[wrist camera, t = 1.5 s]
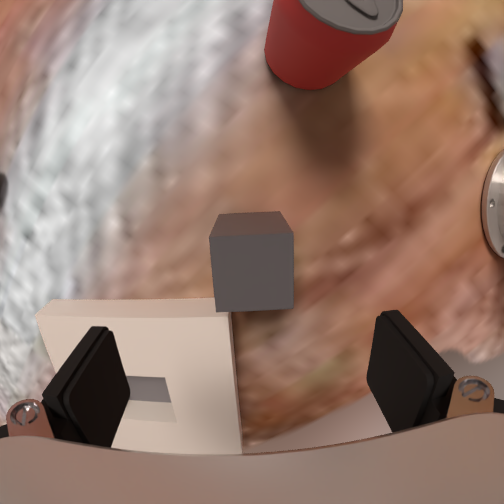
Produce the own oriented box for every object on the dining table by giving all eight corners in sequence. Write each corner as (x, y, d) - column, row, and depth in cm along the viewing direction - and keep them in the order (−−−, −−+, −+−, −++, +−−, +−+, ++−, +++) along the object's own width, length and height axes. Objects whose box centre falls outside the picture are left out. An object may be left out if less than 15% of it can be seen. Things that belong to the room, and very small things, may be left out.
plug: (278, 209, 25) (293, 232, 17) (279, 264, 26) (293, 308, 19) (219, 212, 25) (208, 236, 17) (223, 267, 26) (215, 312, 19)
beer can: (298, 106, 23) (343, 66, 11) (246, 45, 21) (249, -35, 10) (360, 67, 22) (436, 17, 10) (310, 8, 20) (352, -73, 9)
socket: (229, 297, 27) (227, 316, 24) (242, 434, 32) (242, 457, 29) (52, 299, 27) (34, 314, 24) (100, 426, 32) (91, 445, 29)
